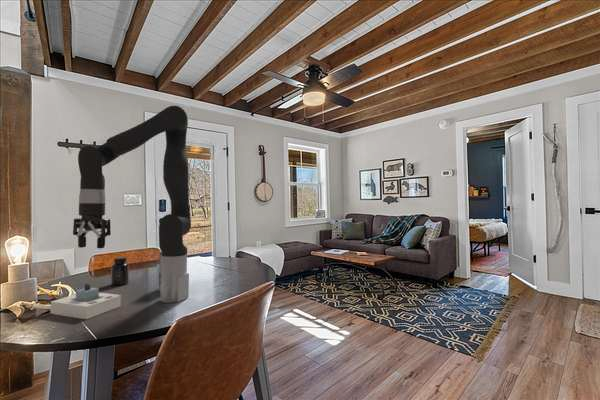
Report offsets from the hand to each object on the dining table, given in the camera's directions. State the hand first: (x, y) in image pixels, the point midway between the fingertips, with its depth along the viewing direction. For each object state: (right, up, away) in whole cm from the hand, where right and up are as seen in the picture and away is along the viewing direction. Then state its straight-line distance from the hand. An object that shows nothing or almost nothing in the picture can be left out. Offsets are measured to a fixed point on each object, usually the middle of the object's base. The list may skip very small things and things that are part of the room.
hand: (91, 247), depth 98 cm
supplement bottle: (-9, -22, +29) cm, 38 cm away
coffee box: (+17, -22, +24) cm, 37 cm away
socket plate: (+1, -21, -3) cm, 21 cm away
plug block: (+1, -21, -3) cm, 21 cm away
